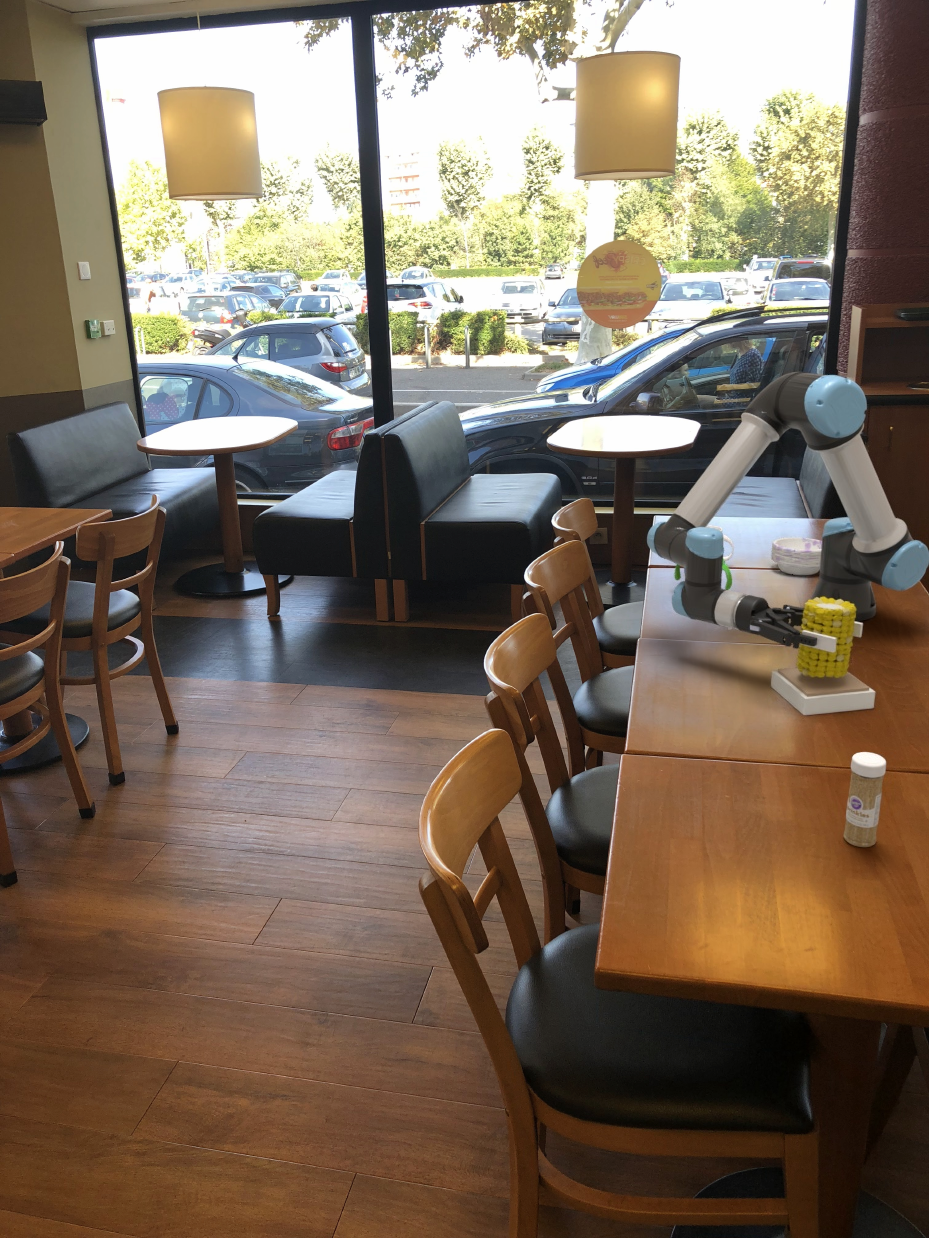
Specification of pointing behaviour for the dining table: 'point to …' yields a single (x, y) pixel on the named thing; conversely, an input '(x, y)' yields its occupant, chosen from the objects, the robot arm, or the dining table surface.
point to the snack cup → (724, 567)
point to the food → (832, 622)
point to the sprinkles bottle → (864, 799)
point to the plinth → (822, 692)
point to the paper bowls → (797, 555)
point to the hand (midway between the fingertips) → (848, 637)
